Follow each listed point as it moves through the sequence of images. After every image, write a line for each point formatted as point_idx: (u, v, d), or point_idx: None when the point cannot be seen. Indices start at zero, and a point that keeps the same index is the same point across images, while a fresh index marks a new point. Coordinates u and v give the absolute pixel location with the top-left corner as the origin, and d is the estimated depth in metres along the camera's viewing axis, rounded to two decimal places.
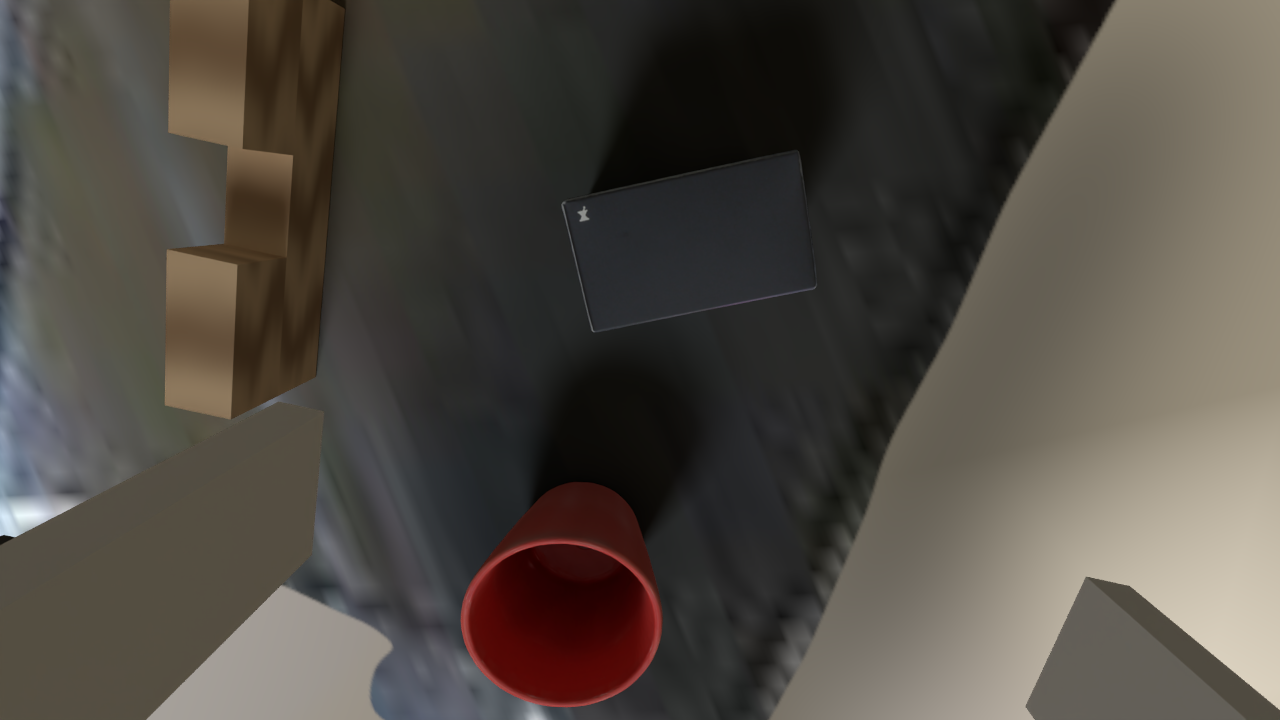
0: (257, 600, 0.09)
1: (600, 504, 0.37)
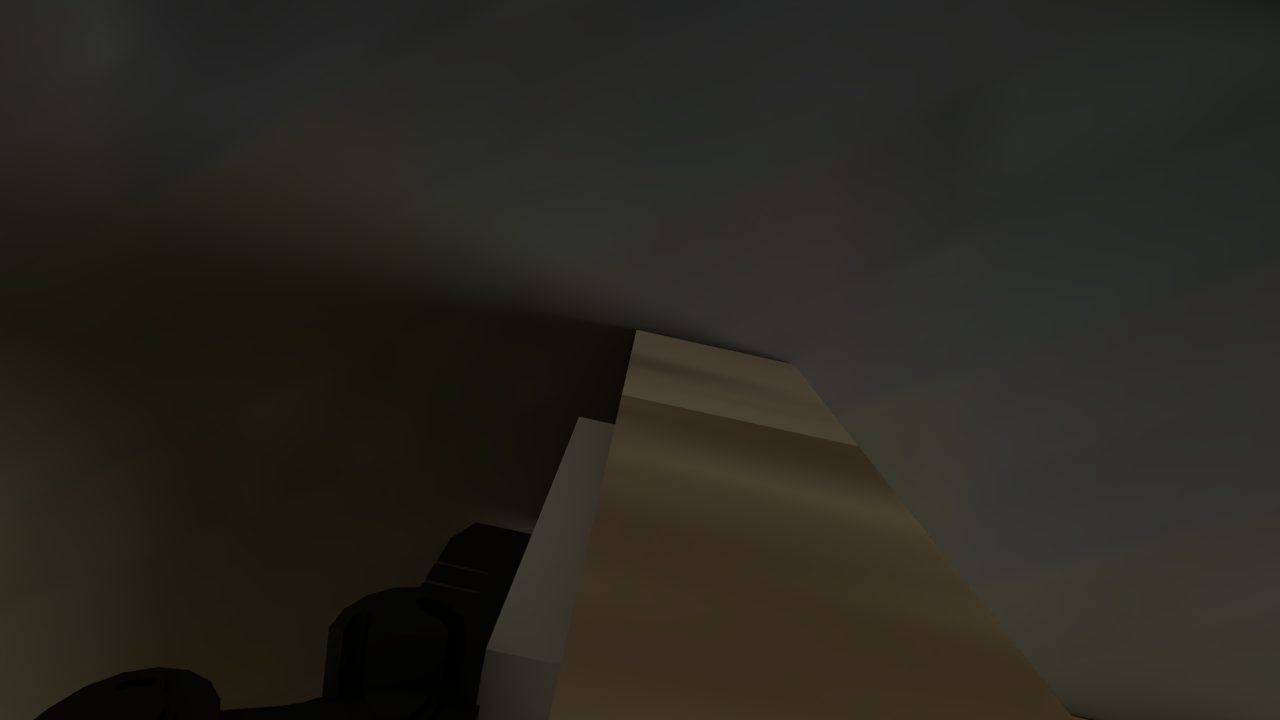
0: None
1: None
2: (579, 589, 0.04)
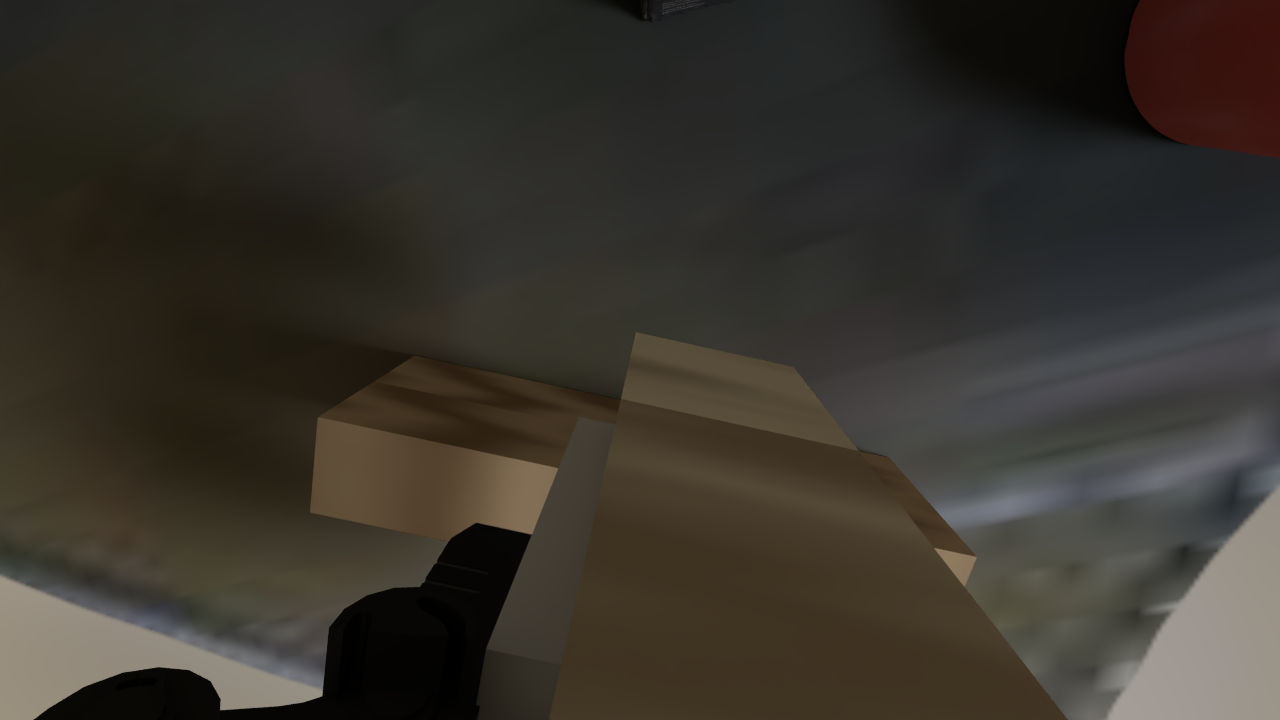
0: None
1: None
2: (577, 599, 0.04)
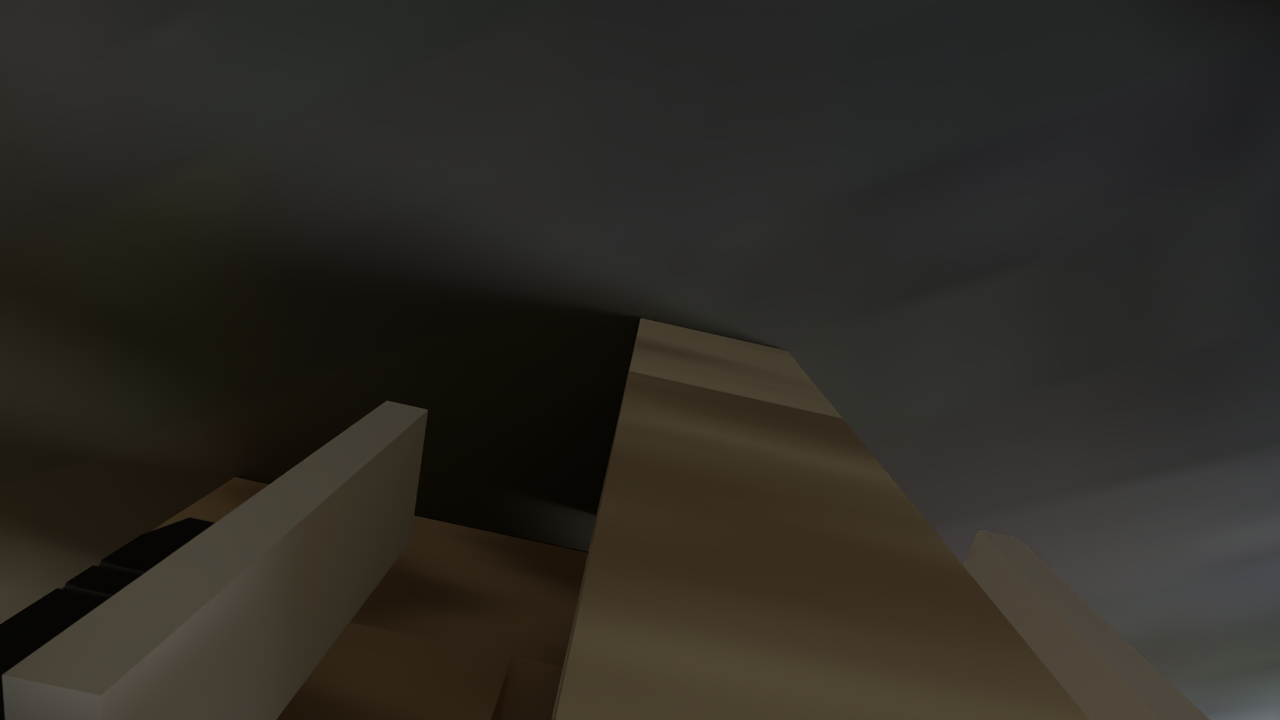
0: (375, 580, 0.10)
1: None
2: (600, 510, 0.05)
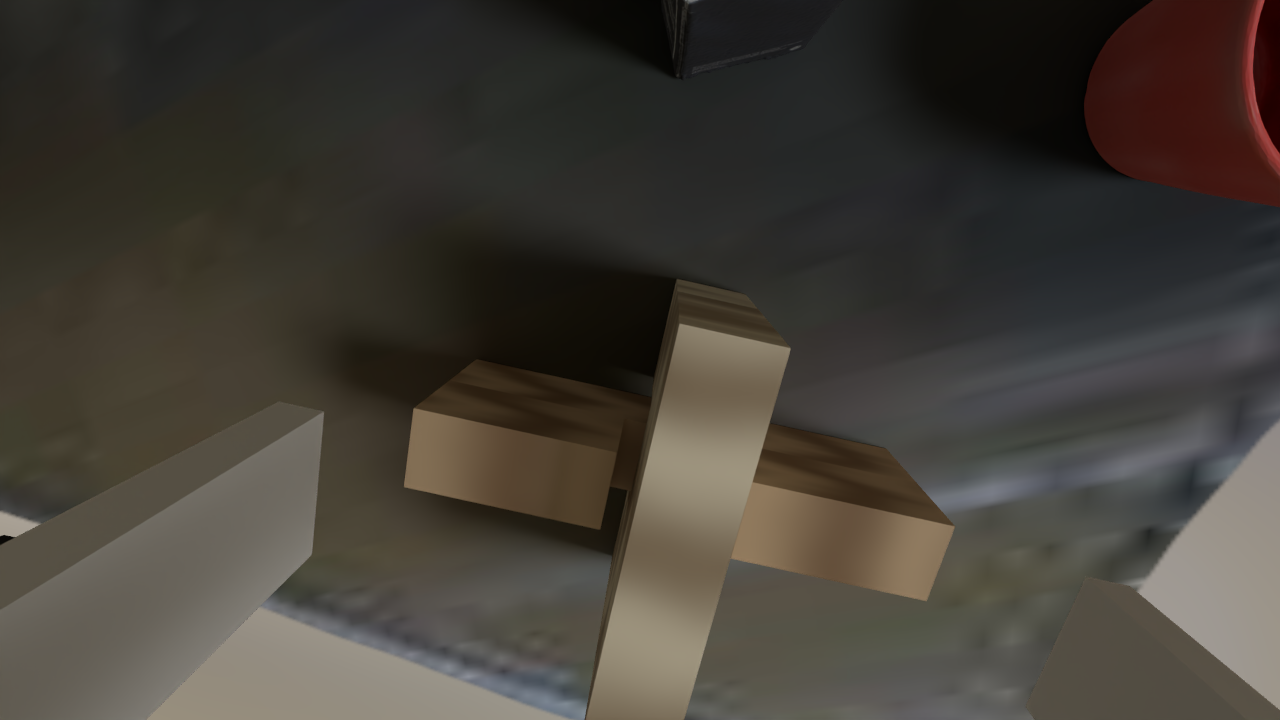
0: (257, 600, 0.09)
1: (1150, 25, 0.23)
2: (679, 308, 0.21)
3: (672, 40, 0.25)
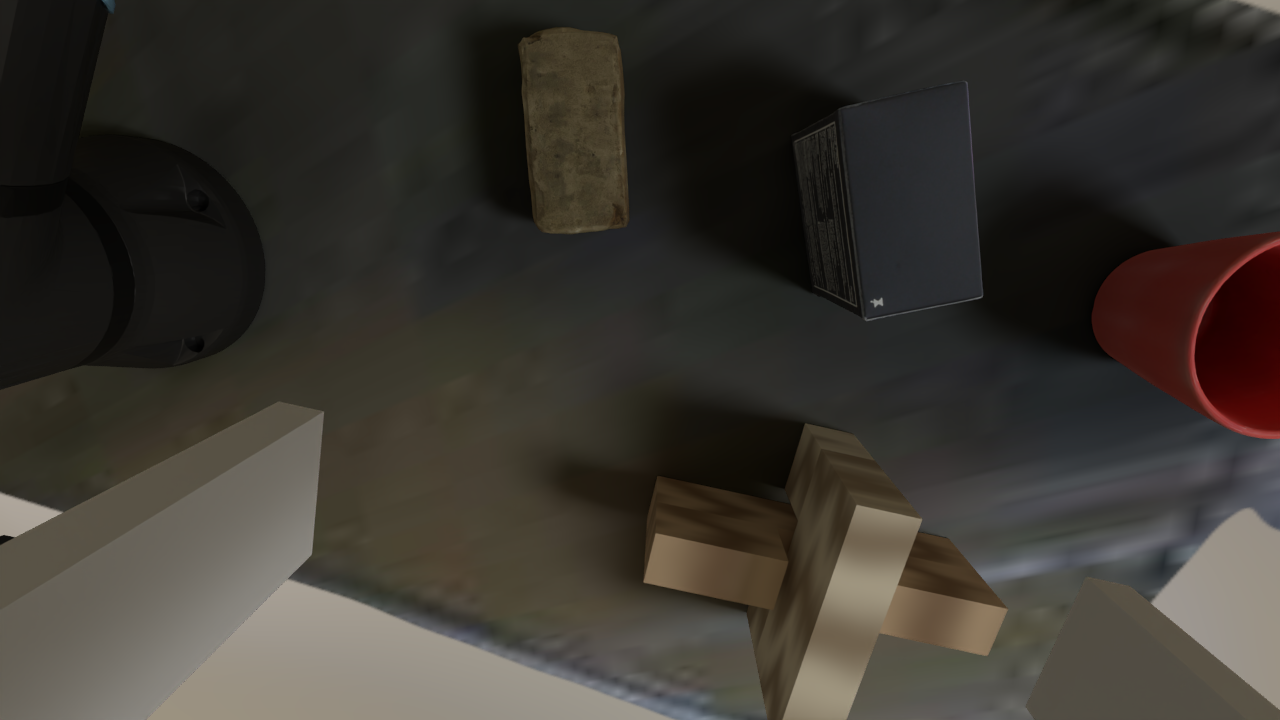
0: (257, 600, 0.09)
1: (1135, 291, 0.36)
2: (841, 480, 0.34)
3: (820, 283, 0.38)
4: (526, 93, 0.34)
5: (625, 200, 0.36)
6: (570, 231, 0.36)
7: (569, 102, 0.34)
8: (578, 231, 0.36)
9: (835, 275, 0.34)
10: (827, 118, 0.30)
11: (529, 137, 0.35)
